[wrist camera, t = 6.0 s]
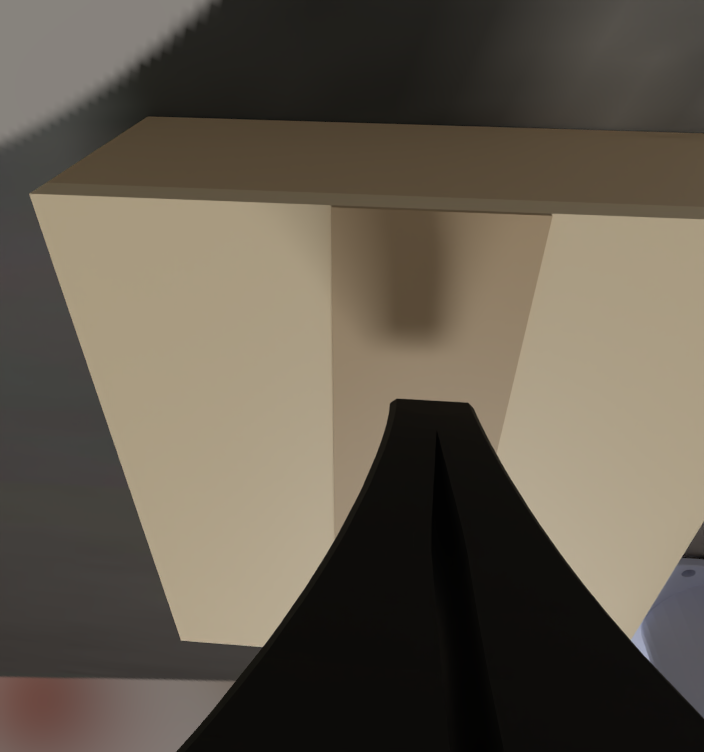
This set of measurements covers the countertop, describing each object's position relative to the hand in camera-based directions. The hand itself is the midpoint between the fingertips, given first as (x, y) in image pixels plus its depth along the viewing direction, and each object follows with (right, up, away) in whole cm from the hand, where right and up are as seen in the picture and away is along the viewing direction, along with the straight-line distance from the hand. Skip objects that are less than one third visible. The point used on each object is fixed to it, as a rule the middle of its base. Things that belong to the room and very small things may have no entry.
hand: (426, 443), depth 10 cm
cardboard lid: (0, -2, +4) cm, 5 cm away
